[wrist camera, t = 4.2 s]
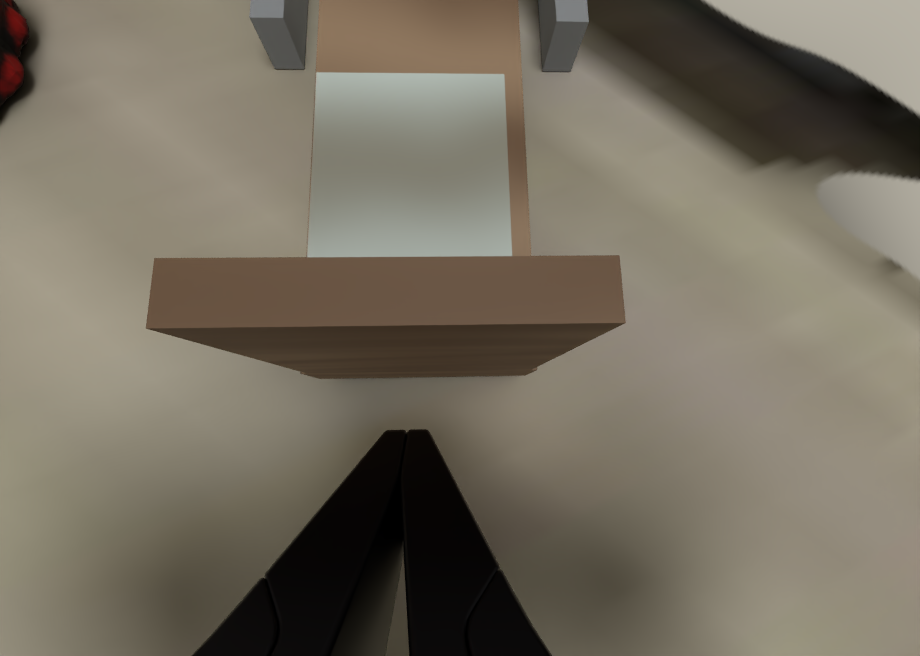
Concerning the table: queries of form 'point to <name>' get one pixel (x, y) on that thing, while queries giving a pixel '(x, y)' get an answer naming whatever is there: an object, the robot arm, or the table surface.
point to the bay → (285, 24)
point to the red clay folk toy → (11, 48)
